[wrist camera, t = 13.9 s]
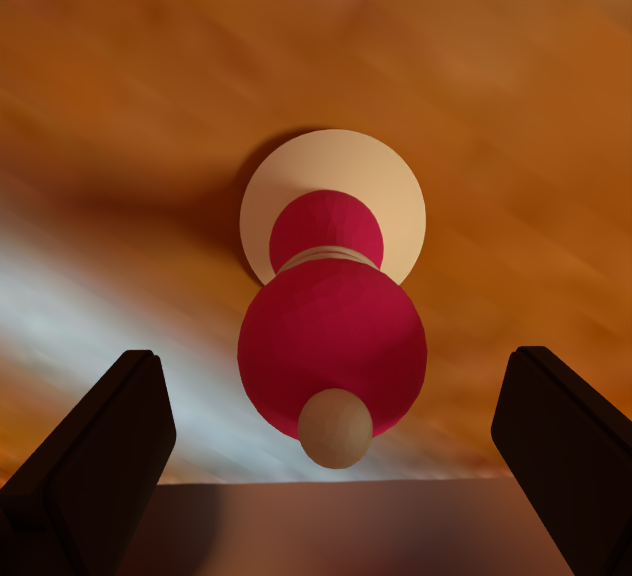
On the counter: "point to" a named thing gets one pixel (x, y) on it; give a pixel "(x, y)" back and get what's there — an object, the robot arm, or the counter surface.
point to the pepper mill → (331, 332)
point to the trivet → (340, 175)
